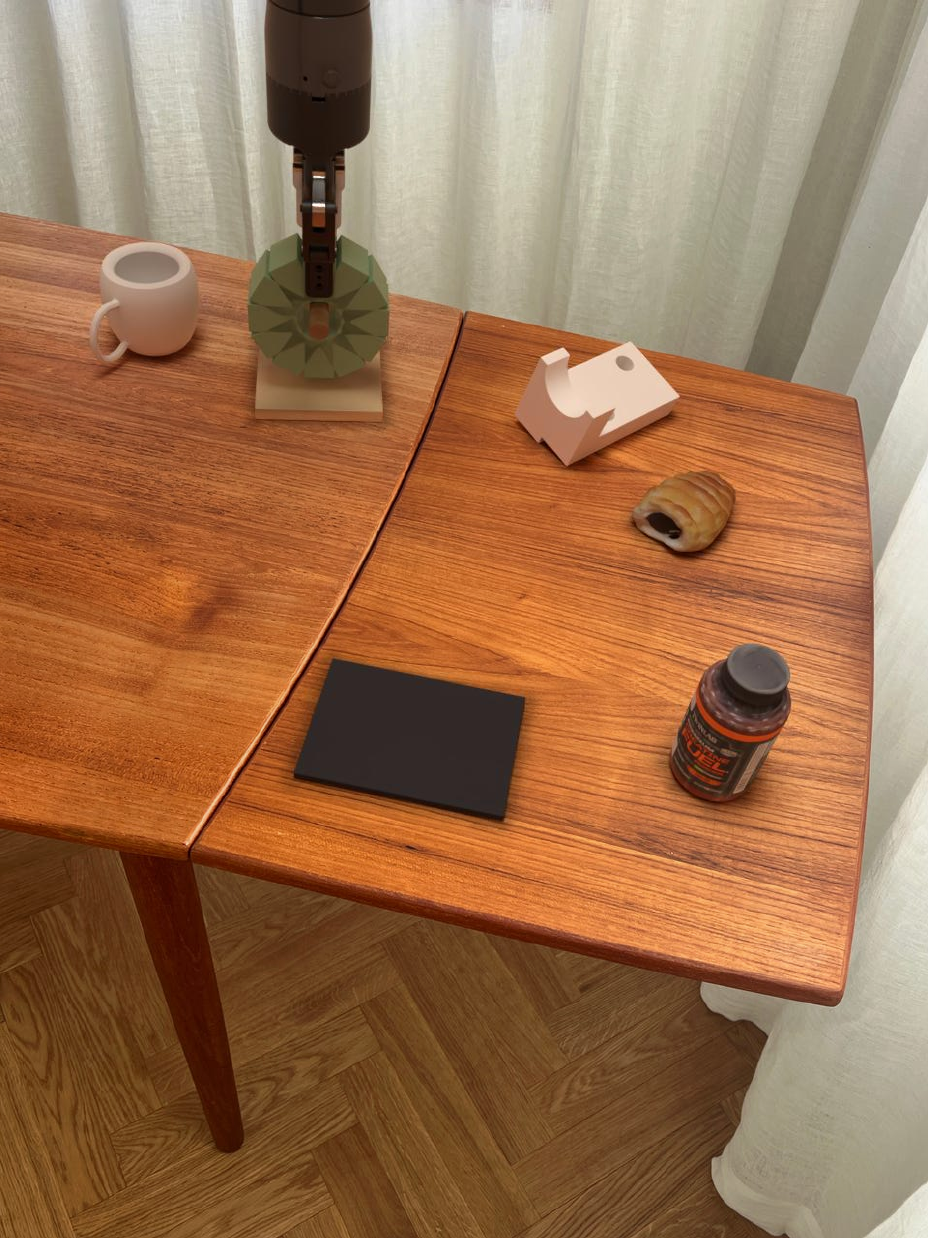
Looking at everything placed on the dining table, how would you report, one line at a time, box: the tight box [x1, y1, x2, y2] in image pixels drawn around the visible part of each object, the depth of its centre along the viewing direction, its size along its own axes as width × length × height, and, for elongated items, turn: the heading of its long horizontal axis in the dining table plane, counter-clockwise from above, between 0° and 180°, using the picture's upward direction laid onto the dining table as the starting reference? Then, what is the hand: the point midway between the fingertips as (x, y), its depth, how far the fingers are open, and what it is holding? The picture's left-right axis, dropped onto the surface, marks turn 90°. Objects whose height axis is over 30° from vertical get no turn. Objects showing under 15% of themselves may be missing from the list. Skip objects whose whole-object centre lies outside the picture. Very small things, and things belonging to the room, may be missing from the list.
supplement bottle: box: [669, 643, 792, 803], centre depth 72 cm, size 6×6×11 cm
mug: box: [88, 241, 200, 365], centre depth 99 cm, size 12×8×8 cm
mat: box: [293, 657, 526, 822], centre depth 76 cm, size 14×10×1 cm
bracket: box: [513, 340, 681, 467], centre depth 98 cm, size 13×7×8 cm, turn 130°
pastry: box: [632, 470, 737, 553], centre depth 92 cm, size 9×7×4 cm
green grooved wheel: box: [247, 232, 391, 378], centre depth 94 cm, size 4×12×12 cm, turn 95°
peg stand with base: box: [254, 229, 384, 423], centre depth 97 cm, size 13×11×12 cm
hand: (319, 278), depth 92 cm, fingers closed on green grooved wheel, 4 cm apart
